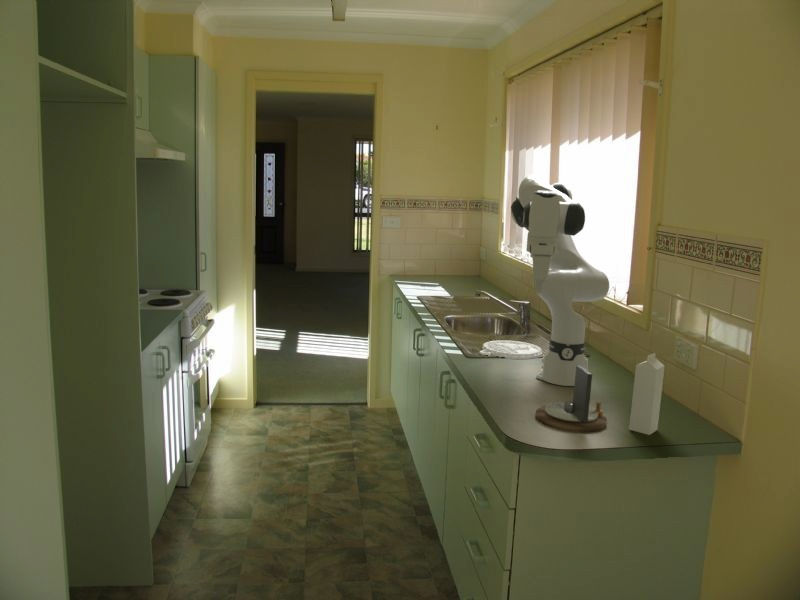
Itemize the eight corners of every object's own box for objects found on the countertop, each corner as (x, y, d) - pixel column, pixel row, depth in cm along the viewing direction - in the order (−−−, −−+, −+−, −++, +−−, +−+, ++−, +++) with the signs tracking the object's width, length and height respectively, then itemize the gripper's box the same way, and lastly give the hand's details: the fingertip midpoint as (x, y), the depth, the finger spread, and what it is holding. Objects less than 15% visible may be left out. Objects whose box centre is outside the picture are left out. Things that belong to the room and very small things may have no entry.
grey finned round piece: (538, 405, 216) (542, 356, 213) (591, 406, 218) (596, 357, 215) (558, 427, 197) (563, 373, 195) (616, 427, 200) (622, 374, 197)
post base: (535, 406, 221) (536, 390, 220) (602, 412, 218) (604, 396, 217) (535, 428, 201) (537, 410, 201) (609, 435, 198) (611, 418, 197)
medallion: (553, 357, 284) (554, 351, 284) (499, 363, 271) (499, 357, 271) (516, 343, 304) (516, 338, 304) (463, 348, 291) (463, 343, 291)
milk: (657, 430, 205) (666, 355, 201) (649, 435, 200) (658, 358, 196) (636, 424, 208) (645, 350, 205) (628, 429, 204) (637, 353, 200)
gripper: (530, 242, 223) (527, 286, 226) (531, 248, 203) (527, 297, 206) (551, 243, 222) (547, 288, 225) (554, 250, 202) (549, 298, 205)
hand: (538, 292), depth 215 cm, fingers closed
